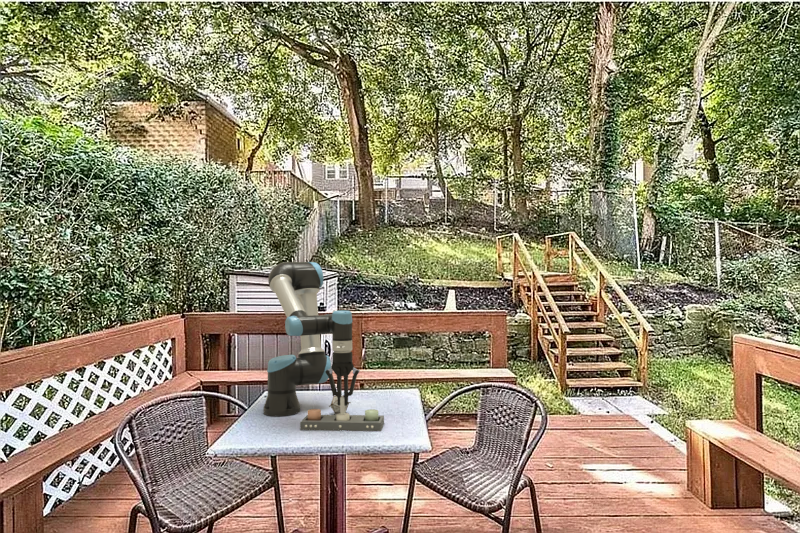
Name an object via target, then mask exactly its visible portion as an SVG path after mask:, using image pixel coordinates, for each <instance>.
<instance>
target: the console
mask: <svg viewBox="0 0 800 533" xmlns="http://www.w3.org/2000/svg"><path fill="white" fill-rule="evenodd" d="M299 422H300V423H299V429H300V431H335V432H336V431H337V432H338V431H339V432H340V430H341V431H342V430H347V431H348V430H349V432H350V431H351V432H355V431H356V432H381V431H382V429H383V427H384V424H385V415H384V414H383V415H379V414H378V421H365V414H364V415H363V414H350V421H336V414H335V415H334V414H321V420H308V414H306V416H305V417H304V418H303V419H302V420H301V421H299ZM342 432H343V431H342Z"/></svg>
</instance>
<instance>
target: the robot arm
mask: <svg viewBox="0 0 800 533" xmlns="http://www.w3.org/2000/svg"><path fill="white" fill-rule="evenodd" d="M267 279H268V286H269V288H270V290H271V291H272V292H273V293H274V294H275V296H276V298H277V300H278V302H279V304H280V305H281V308H282V310H283V312H284V314H285V316H286V319H285V322H284V324H285V325H284V328H285V333H286V335H288V336H290V337H300V346H301V347H300V348H301V350H300V351H299V352H298V354H297V357H296V355H295V354H288V355H287V354H285V355H279V356H275V357H272V358H270V359H269V360H268V362H267V371H266V372H267V396H266V399H265V402H264V405H263V415H266V416H268V417H269V416H270V417H286V416H292V415H297V414H298V413H300V412H301V404H300V401H299V398H298V395H297V387H298V386H307V385H318V384H323V383H326V382H327V381H328V382H329V385H330V390H331V393H332V396H333V395H334V396H337V398H338V406H340V415H345V413H347V410H346V408H345V406H347V405H348V402H349V397H350V396H352V395H353V394H354V390H355V386H356V382H357V377H358V375H359V373H360V369H357V368H356V367H355V365H354V363H353V352H352V351H353V315H352V314H353V313H352V311H351V310H334V311H333V312H332V313H329V314H322V315H321V314H319V308H318V307H319V306H318V293H319V292H320V290H321V287H323V285H324V273H323V269H322V267H321V265H320V264H319V263H317V262H313V261H283V262H280V263H278V264H276V265H275V266H274V267H273V268H272V269H271V270H270V272H269V275H268V278H267ZM321 335H331V336H332V340H331V341H332V342H331V343H332V348H331V349H332V351H333V352H332V362H331V357H330V356H329V355H326V351H325V350H324V349H323V348H322V344H321V343H322V342H321ZM351 372H352V374H353V375H352V377H351V382H350V387H349V376H350V374H351ZM333 373H334V374H335V375H336V384H335V380H334V376H333ZM342 378H343V380H342ZM342 381H343V383H342ZM342 384H343V386H342ZM342 387H343V389H342ZM342 395H344V396H342ZM348 406H349V405H348Z"/></svg>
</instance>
